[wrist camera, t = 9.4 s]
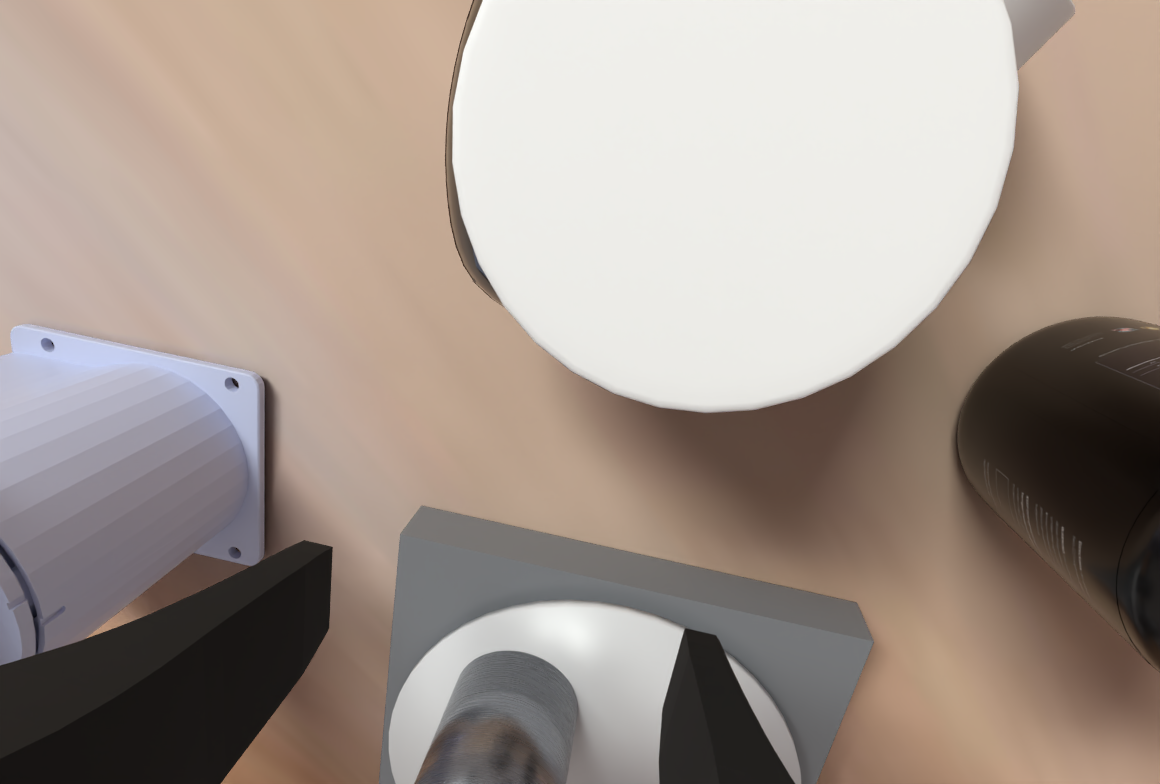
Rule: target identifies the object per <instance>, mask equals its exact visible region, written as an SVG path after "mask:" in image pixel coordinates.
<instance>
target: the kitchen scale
mask: <svg viewBox="0 0 1160 784" xmlns="http://www.w3.org/2000/svg"><path fill="white" fill-rule="evenodd" d="M685 628H687V629H691V630H696V631H700V632H705V633H709V634H713V635H716V636H717V638H718V639H719V641H720V643H721V645H722V647H723V650H724V652H725V654H726V656H727V659H728V661H729V663H730V665H731V667H732V670H733V672H734V674H735V676H736V678H737V680H738V682H739V684H740V686H741V688H742V690H743V692H744V694H745V696H746V698H747V700H748V702H749V704H750V706H751V708H752V710H753V712H754V714H755V715H756V717H757V719H758V721H759V723H760V725H761V727H762V729H763V730H764V732H765V734H766V736H767V738H768V739H769V741H770V743H771V745H772V746H773V748H774V750H775V751H776V753H777V755H778V756H779V758H780V760H781V761H782V763H783V765H784V766H785V768H786V770H787V771H788V773H789V775H790V776H791V778H792V779H793V781H794V782H795V784H816V783H817V780H818V778H819V775H820V773H821V770H822V768H823V765H824V763H825V760H826V758H827V756H828V753H829V751H830V748H831V746H832V743H833V741H834V738H835V736H836V733H837V731H838V729H839V726H840V724H841V721H842V719H843V716H844V714H845V711H846V709H847V706H848V704H849V702H850V699H851V697H852V694H853V692H854V689H855V687H856V684H857V682H858V679H859V677H860V675H861V672H862V670H863V667H864V665H865V662H866V660H867V657H868V655H869V652H870V650H871V648H872V645H873V643H874V641H873V638H872V636H871V634H870V632H869V629H868V627H867V625H866V622H865V620H864V618H863V615H862V613H861V611H860V609H859V606H858V604H857V603H856V602H851V601H847V600H842V599H838V598H833V597H829V596H824V595H820V594H815V593H811V592H806V591H802V590H797V589H793V588H788V587H784V586H780V585H775V584H771V583H766V582H762V581H757V580H753V579H748V578H744V577H739V576H735V575H730V574H726V573H721V572H717V571H712V570H708V569H703V568H699V567H694V566H690V565H685V564H681V563H676V562H672V561H667V560H663V559H658V558H654V557H650V556H645V555H641V554H636V553H632V552H627V551H623V550H618V549H614V548H609V547H605V546H600V545H596V544H591V543H587V542H582V541H578V540H573V539H569V538H564V537H560V536H555V535H551V534H546V533H542V532H537V531H533V530H529V529H524V528H520V527H515V526H511V525H506V524H502V523H497V522H493V521H488V520H484V519H479V518H475V517H470V516H466V515H461V514H457V513H452V512H448V511H443V510H439V509H434V508H430V507H425V506H421V507H420V508H419V510H418V511H417V512H416V514H415V515H414V516H413V518H412V519H411V520H410V522H409V523H408V524H407V526H406V527H405V528H404V530H403V531H402V532H401V534H400V542H399V554H398V565H397V577H396V589H395V600H394V612H393V624H392V635H391V647H390V659H389V671H388V682H387V694H386V706H385V717H384V729H383V741H382V752H381V764H380V776H379V784H414V783H415V781H416V778H417V776H418V774H419V771H420V769H421V766H422V764H423V762H424V759H425V757H426V754H427V752H428V750H429V747H430V745H431V742H432V740H433V738H434V735H435V733H436V730H437V728H438V726H439V723H440V721H441V718H442V716H443V714H444V711H445V709H446V706H447V704H448V702H449V699H450V697H451V694H452V692H453V690H454V687H455V685H456V682H457V680H458V678H459V676H460V674H461V672H462V671H463V669H464V668H465V667H466V666H467V665H468V664H469V663H470V662H471V661H473V660H474V659H476V658H478V657H479V656H482V655H484V654H487V653H491V652H496V651H519V652H524V653H528V654H531V655H534V656H537V657H539V658H541V659H544V660H545V661H547V662H549V663H550V664H552V665H553V666H555V667H556V668H557V669H558V670H559V671H561V672H562V673H563V674H564V676H565V677H566V678H567V679H568V680H569V682H570V683H571V685H572V687H573V689H574V691H575V693H576V697H577V701H578V716H577V722H576V728H575V734H574V740H573V746H572V752H571V758H570V764H569V770H568V776H567V782H566V784H659V748H660V733H661V720H662V708H663V704H664V701H665V697H666V693H667V690H668V686H669V683H670V679H671V675H672V672H673V668H674V665H675V661H676V657H677V654H678V650H679V647H680V643H681V640H682V636H683V632H684V629H685Z"/></svg>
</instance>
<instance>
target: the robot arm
mask: <svg viewBox="0 0 1160 784" xmlns="http://www.w3.org/2000/svg"><path fill="white" fill-rule="evenodd" d="M51 341H52V342H53V344H54V346H55V347H54V346H53V345H52V343H51ZM11 345H12V352H13V353H9V354H6V355H2V356H0V784H221V782H222V781H223V780H224V778H225V777H226V775H227V774H228V773H229V771H230V770H231V769H232V767H233V766H234V765H235V763H236V762H237V761H238V760H239V758H240V757H241V756H242V754H243V753H244V752H245V750H246V749H247V748H248V746H249V745H250V744H251V742H252V741H253V740H254V738H255V737H256V736H257V734H258V733H259V732H260V731H261V729H262V728H263V727H264V725H265V724H266V723H267V721H268V720H269V719H270V717H271V716H272V715H273V713H274V712H275V711H276V709H277V708H278V707H279V705H280V704H281V703H282V701H283V700H284V699H285V697H286V696H287V695H288V693H289V692H290V691H291V689H292V688H293V687H294V685H295V684H296V683H297V681H298V680H299V678H300V677H301V676H302V674H303V673H304V671H305V669H306V668H307V666H308V664H309V663H310V661H311V659H312V658H313V656H314V654H315V653H316V651H317V649H318V647H319V645H320V644H321V642H322V640H323V638H324V636H325V635H326V633H327V631H328V629H329V616H330V594H331V571H332V548H333V547H331V546H326V545H322V544H317V543H313V542H309V541H302V542H300V543H297V544H295V545H293V546H291V547H289V548H287V549H285V550H283V551H281V552H279V553H277V554H275V555H273V556H271V557H269V558H267V559H265V560H263V561H261V562H259V561H260V560H261V559H262V558H263V557H264V461H265V387H264V382H263V380H262V378H261V377H260V376H259V375H258V374H257V373H255V372H252V371H248V370H244V369H239V368H234V367H229V366H225V365H220V364H215V363H211V362H206V361H201V360H196V359H192V358H187V357H182V356H178V355H173V354H168V353H163V352H159V351H154V350H149V349H145V348H140V347H135V346H130V345H126V344H121V343H116V342H112V341H107V340H102V339H97V338H93V337H88V336H83V335H79V334H74V333H69V332H64V331H60V330H55V329H50V328H46V327H41V326H36V325H31V324H23V325H18V326H16V327H14V328H13V329H12V330H11ZM232 378H234V379H236V381H237V382H238V384H239V388H238V387H236V386H235V385H234V384H233V382H232ZM235 547H236V548H238V549H239V550H240V552H241V553H240V552H238V551H237V550H236V548H235ZM193 553H196V554H200V555H205V556H209V557H213V558H217V559H222V560H226V561H230V562H234V563H239V564H243V565H247V566H251V567H249V568H247V569H245V570H243V571H241V572H239V573H237V574H235V575H233V576H231V577H229V578H227V579H225V580H223V581H221V582H219V583H217V584H215V585H213V586H211V587H209V588H207V589H205V590H203V591H201V592H198V593H196V594H194V595H192V596H189V597H187V598H185V599H183V600H181V601H178V602H176V603H174V604H172V605H169V606H167V607H165V608H163V609H161V610H158V611H156V612H154V613H152V614H149V615H147V616H144V617H142V618H140V619H137V620H135V621H132V622H130V623H127V624H124V625H122V626H119V627H117V628H114V629H111V630H109V631H106V632H103V633H100V634H98V635H95V636H92V637H89V638H87V637H88V636H89V635H91V634H92V633H93V632H94V631H96V630H97V629H98V628H99V627H101V626H102V625H103V624H104V623H106V622H107V621H108V620H109V619H111V618H112V617H113V616H115V615H116V614H117V613H118V612H120V611H121V610H122V609H123V608H125V607H126V606H127V605H128V604H130V603H131V602H132V601H133V600H135V599H136V598H137V597H138V596H140V595H141V594H142V593H143V592H145V591H146V590H147V589H148V588H150V587H151V586H152V585H154V584H155V583H156V582H157V581H159V580H160V579H161V578H162V577H164V576H165V575H166V574H167V573H169V572H170V571H171V570H172V569H174V568H175V567H176V566H177V565H179V564H180V563H181V562H182V561H184V560H185V559H186V558H187V557H189V556H190V555H191V554H193ZM258 562H259V563H258ZM86 638H87V639H86ZM659 784H795V782H794V781H793V779H792V778H791V776H790V775H789V773H788V771H787V770H786V768H785V766H784V765H783V763H782V761H781V760H780V758H779V756H778V755H777V753H776V751H775V750H774V748H773V746H772V745H771V743H770V741H769V739H768V738H767V736H766V734H765V732H764V730H763V729H762V727H761V725H760V723H759V721H758V719H757V717H756V715H755V714H754V712H753V710H752V708H751V706H750V704H749V702H748V700H747V698H746V696H745V694H744V692H743V690H742V688H741V686H740V684H739V682H738V680H737V678H736V676H735V674H734V672H733V670H732V667H731V665H730V663H729V661H728V659H727V656H726V654H725V652H724V650H723V647H722V645H721V643H720V641H719V639H718V638H717V636H716V635H713V634H709V633H705V632H700V631H696V630H691V629H687V628H685V629H684V632H683V636H682V640H681V643H680V647H679V650H678V654H677V657H676V661H675V665H674V668H673V672H672V675H671V679H670V683H669V686H668V690H667V693H666V697H665V701H664V704H663V708H662V720H661V733H660V748H659Z"/></svg>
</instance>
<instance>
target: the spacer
mask: <svg viewBox="0 0 1160 784" xmlns="http://www.w3.org/2000/svg"><path fill="white" fill-rule="evenodd" d="M577 716H578V701H577V697H576V693H575V691H574V689H573V687H572V685H571V683H570V682H569V680H568V679H567V678H566V677H565V676H564V674H563V673H562V672H561V671H559V670H558V669H557V668H556V667H555V666H553V665H552V664H550V663H549V662H547V661H545V660H544V659H541V658H539V657H537V656H534V655H531V654H528V653H524V652H519V651H496V652H491V653H487V654H484V655H482V656H479V657H478V658H476V659H474V660H473V661H471V662H470V663H469V664H468V665H467V666H466V667H465V668H464V669H463V671H462V672H461V674H460V676H459V678H458V680H457V682H456V685H455V687H454V690H453V692H452V694H451V697H450V699H449V702H448V704H447V706H446V709H445V711H444V714H443V716H442V718H441V721H440V723H439V726H438V728H437V730H436V733H435V735H434V738H433V740H432V742H431V745H430V747H429V750H428V752H427V754H426V757H425V759H424V762H423V764H422V766H421V769H420V771H419V774H418V776H417V778H416V781H415V783H414V784H566V782H567V776H568V770H569V764H570V758H571V752H572V746H573V740H574V734H575V728H576V722H577Z"/></svg>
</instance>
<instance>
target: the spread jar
mask: <svg viewBox="0 0 1160 784" xmlns="http://www.w3.org/2000/svg"><path fill="white" fill-rule="evenodd" d="M1074 14H1075V6H1074V4H1073V2H1072V0H473V2H472V5H471V8H470V11H469V14H468V17H467V20H466V23H465V27H464V30H463V34H462V37H461V41H460V45H459V49H458V54H457V58H456V62H455V67H454V72H453V78H452V84H451V89H450V97H449V105H448V113H447V126H446V149H445V166H446V188H447V199H448V208H449V216H450V223H451V228H452V232H453V237H454V241H455V245H456V248H457V251H458V253H459V256H460V258H461V261H462V263H463V266H464V267H465V269H466V270H467V272H468V273H469V275H470V276H471V278H472V280H473V282H474V283H475V284H476V285H477V286H478V287H480V288H481V289H482V290H483V291H484V292H485V293H486V294H487V295H488V296H489V297H490V298H491V299H493V300H494V301H496V302H497V303H499V304H500V305H502V306H503V307H505V308H506V309H507V311H508V312H509V313H510V314H511V315H512V316H513V317H514V319H515V320H516V321H517V322H518V323H519V324H520V326H521V327H522V328H523V329H524V330H525V331H526V332H527V334H528V335H529V336H530V337H531V338H532V339H533V341H534V342H535V343H537V344H538V345H539V346H540V347H542V348H543V349H544V350H545V351H547V352H548V353H549V354H550V355H552V356H553V357H554V358H555V359H557V360H558V361H559V362H560V363H562V364H563V365H564V366H565V367H567V368H568V369H569V370H570V371H572V372H573V373H575V374H577V375H579V376H581V377H583V378H585V379H587V380H589V381H590V382H592V383H594V384H596V385H598V386H600V387H602V388H604V389H606V390H607V391H609V392H611V393H613V394H616V395H619V396H623V397H626V398H629V399H632V400H635V401H639V402H642V403H645V404H648V405H652V406H655V407H658V408H666V409H674V410H683V411H692V412H700V413H716V412H732V411H748V410H757V409H761V408H765V407H769V406H773V405H777V404H781V403H785V402H789V401H793V400H797V399H801V398H804V397H807V396H809V395H811V394H813V393H816V392H818V391H820V390H822V389H825V388H827V387H829V386H831V385H834V384H836V383H838V382H841V381H843V380H845V379H847V378H850V377H851V376H853V375H854V374H856V373H857V372H859V371H860V370H862V369H863V368H865V367H866V366H868V365H869V364H871V363H872V362H874V361H875V360H877V359H878V358H880V357H881V356H883V355H884V354H886V353H887V352H889V351H890V350H892V349H893V348H895V347H896V346H897V345H898V344H899V343H900V342H901V341H902V340H903V339H904V338H905V337H907V336H908V335H909V334H910V333H911V332H912V331H913V330H914V329H915V328H916V327H917V326H918V325H919V324H920V323H921V322H922V321H923V320H924V319H925V318H926V317H927V316H929V315H930V314H931V313H932V312H933V311H934V310H935V309H936V308H937V306H938V305H939V304H940V302H941V301H942V300H943V298H944V297H945V296H946V294H947V293H948V291H949V290H950V289H951V287H952V286H953V285H954V283H955V282H956V281H957V279H958V278H959V276H960V275H961V274H962V272H963V271H964V270H965V268H966V267H967V266H968V264H969V263H970V262H971V260H972V258H973V256H974V254H975V252H976V249H977V247H978V245H979V243H980V241H981V239H982V237H983V235H984V233H985V231H986V229H987V227H988V225H989V223H990V221H991V219H992V217H993V215H994V213H995V211H996V209H997V206H998V203H999V199H1000V196H1001V192H1002V189H1003V185H1004V182H1005V178H1006V174H1007V171H1008V167H1009V164H1010V160H1011V157H1012V153H1013V150H1014V140H1015V128H1016V117H1017V105H1018V93H1019V81H1018V73H1017V71H1018V70H1019V69H1020V68H1021V67H1022V66H1023V65H1024V64H1025V63H1026V62H1027V61H1028V60H1029V59H1030V58H1031V57H1032V56H1033V55H1034V54H1035V53H1036V52H1037V51H1038V50H1039V49H1040V48H1041V47H1042V46H1043V45H1044V44H1045V43H1046V42H1047V41H1048V40H1049V39H1050V38H1051V37H1052V36H1053V35H1054V34H1055V33H1056V32H1057V31H1058V30H1059V29H1060V28H1061V27H1062V26H1063V25H1064V24H1065V23H1066V22H1067V21H1068V20H1069V19H1070V18H1071V17H1072V16H1073V15H1074Z"/></svg>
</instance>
